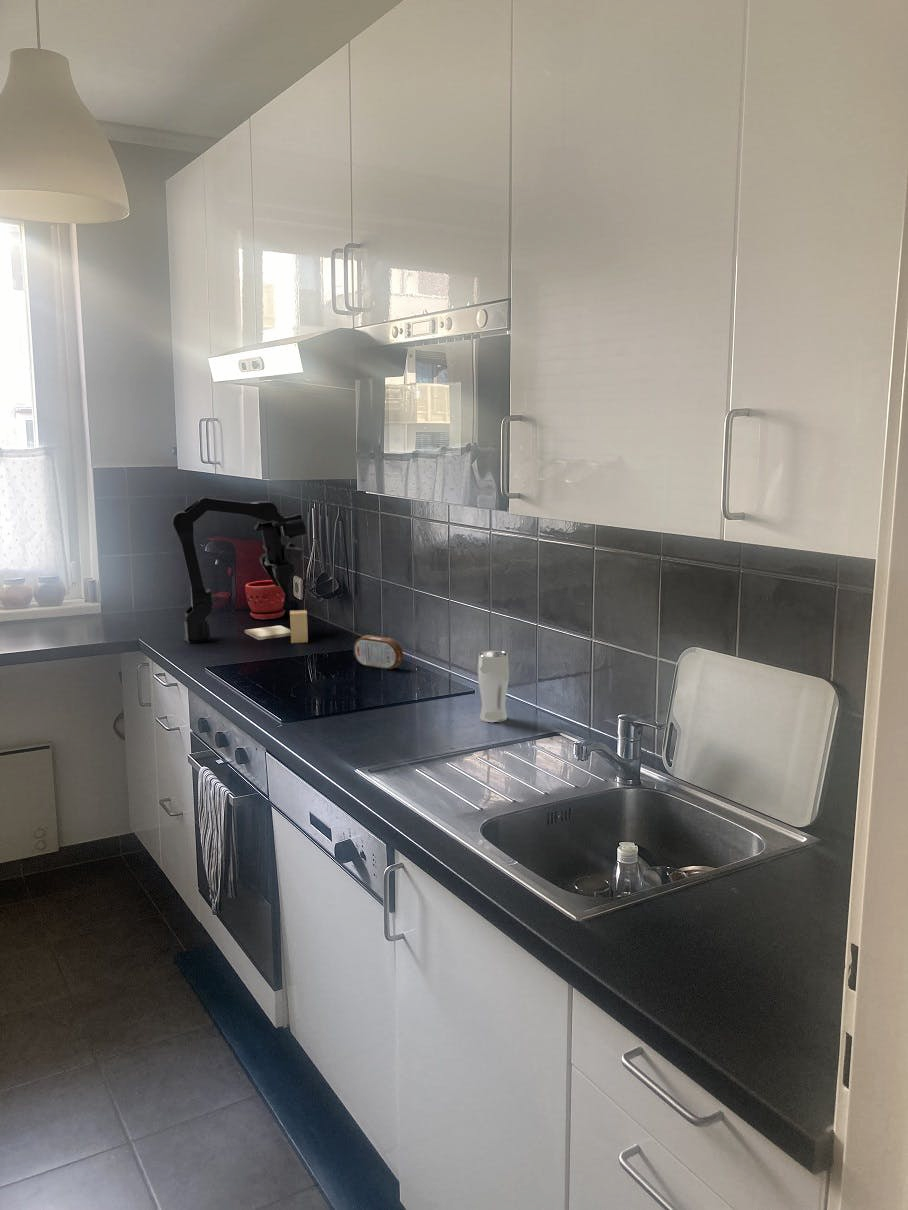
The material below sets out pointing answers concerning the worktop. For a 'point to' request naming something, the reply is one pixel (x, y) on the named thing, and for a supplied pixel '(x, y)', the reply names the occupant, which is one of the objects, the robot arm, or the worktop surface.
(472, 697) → the worktop surface
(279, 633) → the birch board
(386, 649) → the tin
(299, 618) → the ochre block
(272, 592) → the plant pot
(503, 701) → the beer glass
